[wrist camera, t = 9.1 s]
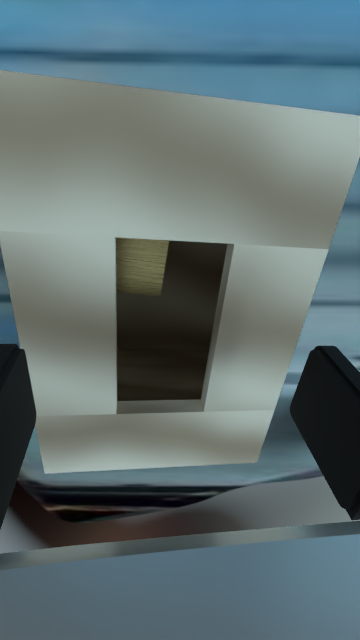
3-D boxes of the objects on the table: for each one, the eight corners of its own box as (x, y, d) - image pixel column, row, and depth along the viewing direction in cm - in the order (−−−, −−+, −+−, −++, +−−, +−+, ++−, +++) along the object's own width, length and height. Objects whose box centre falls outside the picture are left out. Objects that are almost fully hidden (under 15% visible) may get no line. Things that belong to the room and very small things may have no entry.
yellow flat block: (74, 287, 18) (75, 174, 16) (80, 271, 20) (82, 169, 18) (160, 296, 19) (177, 192, 16) (157, 280, 21) (172, 184, 19)
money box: (216, 352, 26) (256, 462, 18) (75, 352, 24) (44, 473, 16) (259, 121, 18) (372, 117, 9) (53, 97, 16) (-35, 65, 8)
